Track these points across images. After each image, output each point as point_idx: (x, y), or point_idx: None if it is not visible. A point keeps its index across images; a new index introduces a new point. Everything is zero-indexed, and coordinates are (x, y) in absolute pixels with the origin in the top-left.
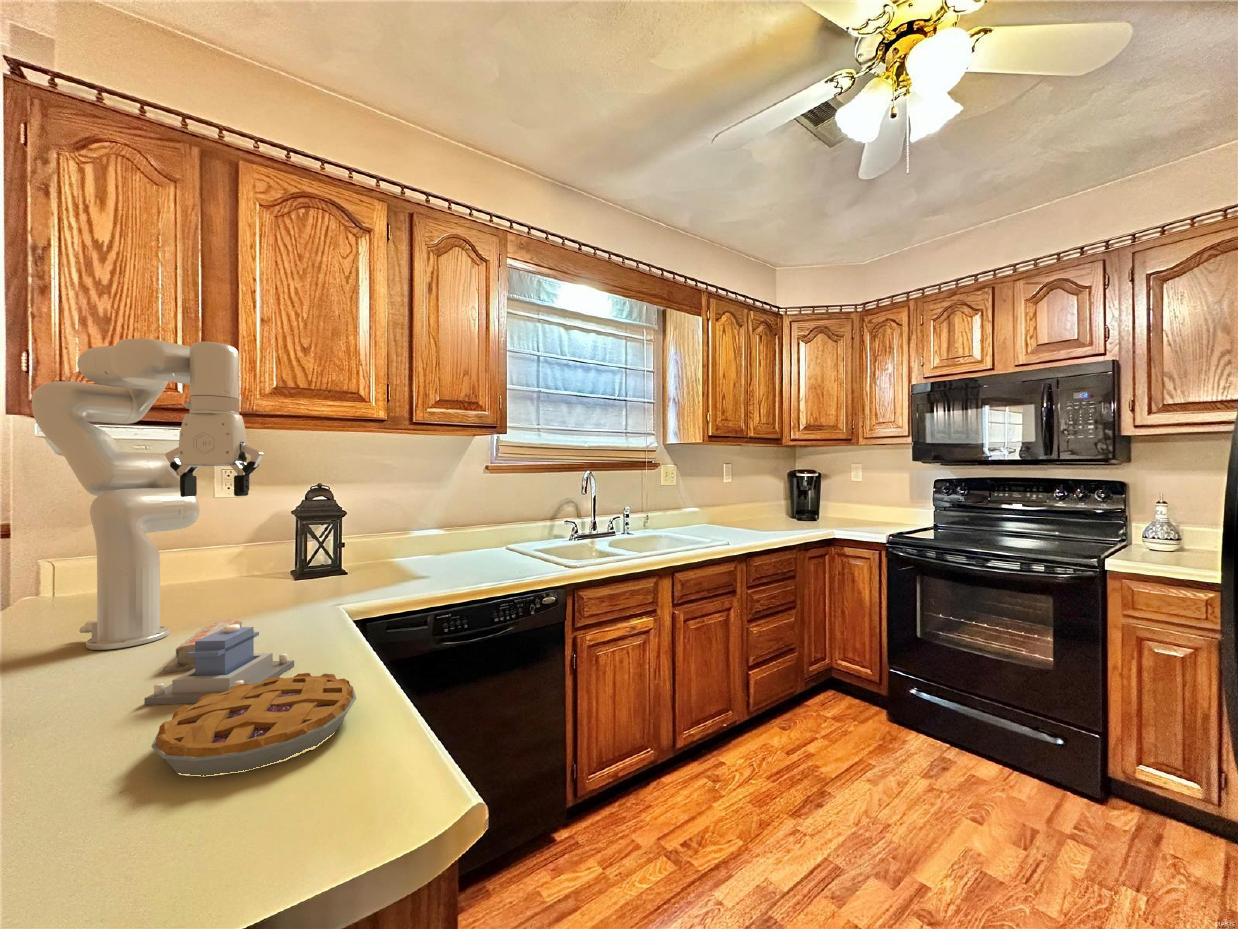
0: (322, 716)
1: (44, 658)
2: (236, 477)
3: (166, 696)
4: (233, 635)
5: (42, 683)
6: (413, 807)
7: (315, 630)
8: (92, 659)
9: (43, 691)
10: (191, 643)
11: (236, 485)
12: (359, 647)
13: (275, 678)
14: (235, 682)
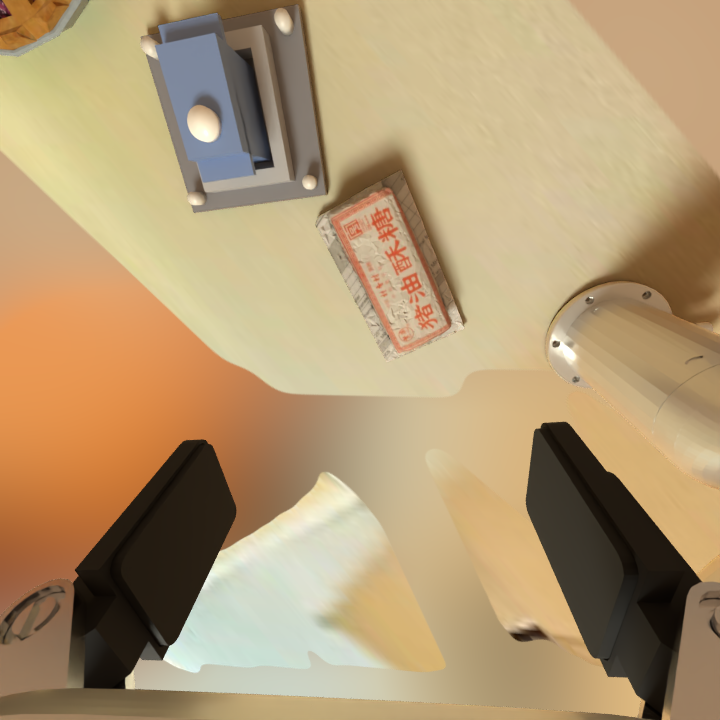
0: None
1: (699, 241)
2: (95, 548)
3: (264, 15)
4: (171, 88)
5: (591, 109)
6: None
7: (302, 381)
8: (595, 238)
9: (553, 67)
10: (373, 207)
11: (146, 489)
12: (165, 301)
13: (41, 9)
14: (150, 40)
